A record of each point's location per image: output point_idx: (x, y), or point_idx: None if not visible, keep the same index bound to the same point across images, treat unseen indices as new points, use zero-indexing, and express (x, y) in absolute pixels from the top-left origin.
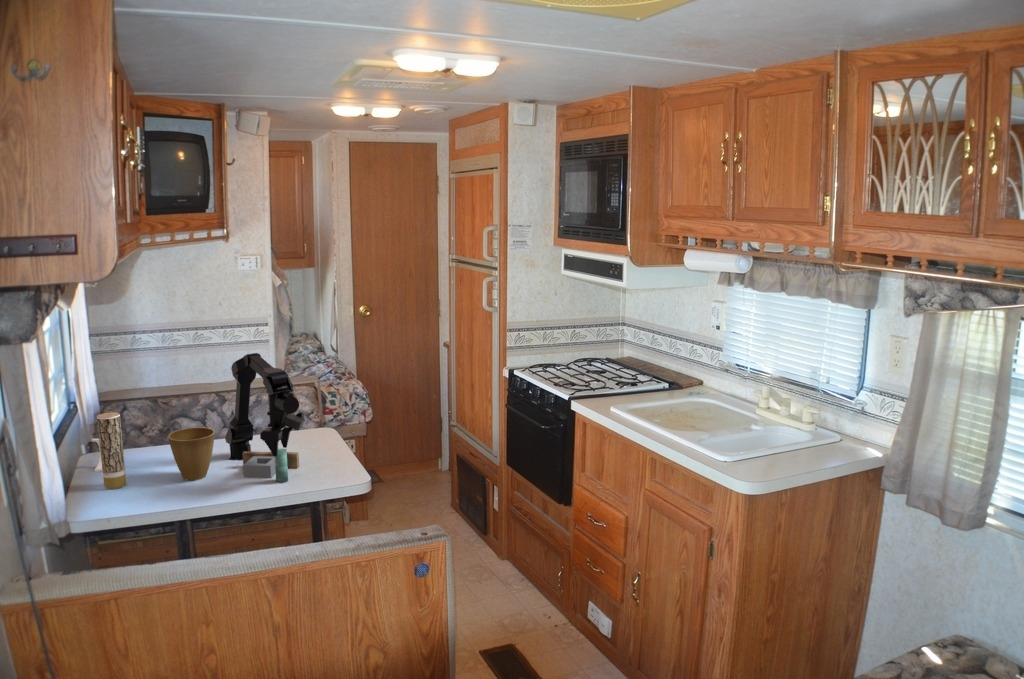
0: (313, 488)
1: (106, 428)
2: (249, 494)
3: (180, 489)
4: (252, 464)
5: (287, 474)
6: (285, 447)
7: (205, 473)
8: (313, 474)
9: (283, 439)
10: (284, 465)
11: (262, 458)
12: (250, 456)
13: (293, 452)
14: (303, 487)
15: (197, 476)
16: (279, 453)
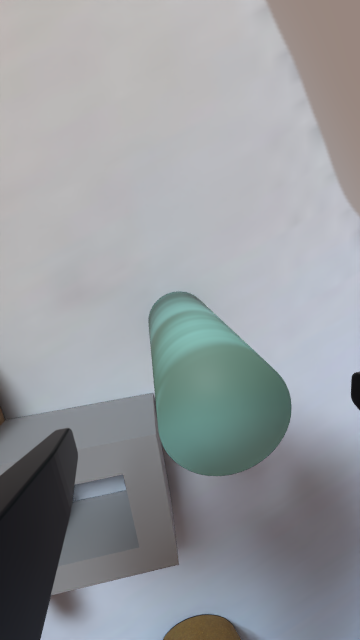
0: (259, 82)
1: None
2: (352, 373)
3: (313, 604)
4: (156, 530)
5: (181, 298)
6: (72, 436)
7: (204, 632)
8: (35, 193)
9: (38, 556)
10: (218, 318)
11: None
12: None
13: None
14: (251, 156)
15: (233, 634)
16: (281, 388)
